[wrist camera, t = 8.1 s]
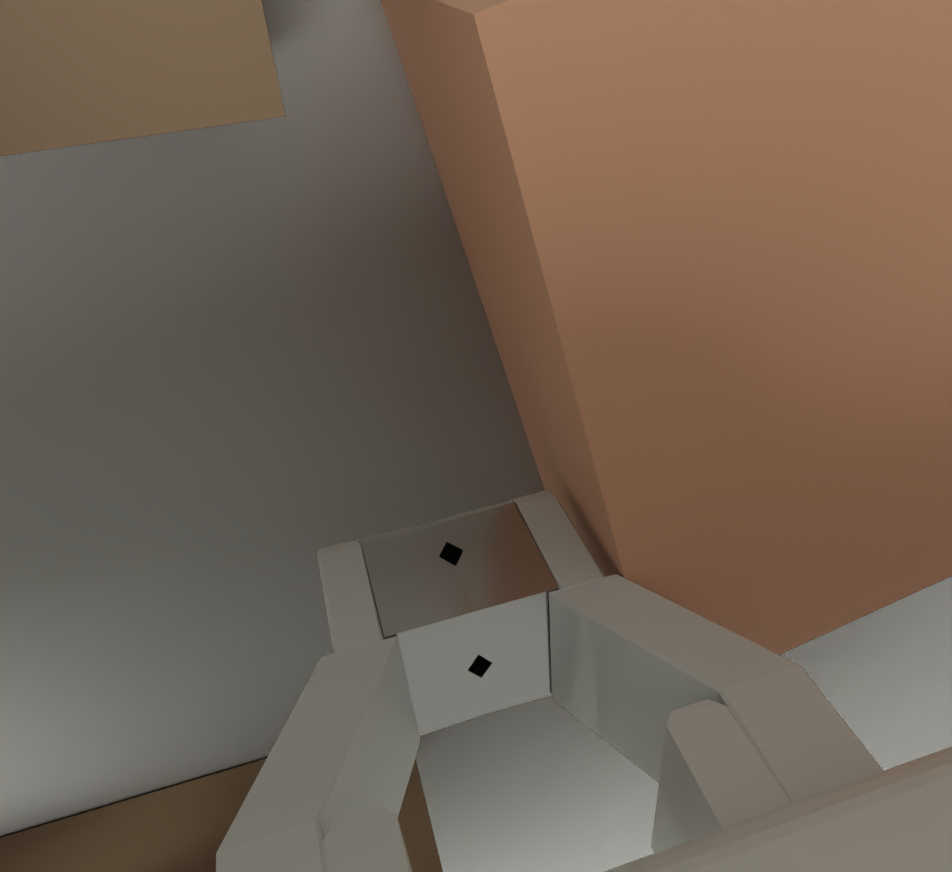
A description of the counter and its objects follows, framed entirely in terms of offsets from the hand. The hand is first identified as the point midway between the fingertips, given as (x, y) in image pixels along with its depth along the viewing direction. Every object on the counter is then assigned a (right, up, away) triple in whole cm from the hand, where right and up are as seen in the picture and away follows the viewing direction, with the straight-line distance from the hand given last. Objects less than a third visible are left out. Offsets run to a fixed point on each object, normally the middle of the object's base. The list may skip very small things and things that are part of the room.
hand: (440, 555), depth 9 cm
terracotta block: (+4, +5, +1) cm, 6 cm away
